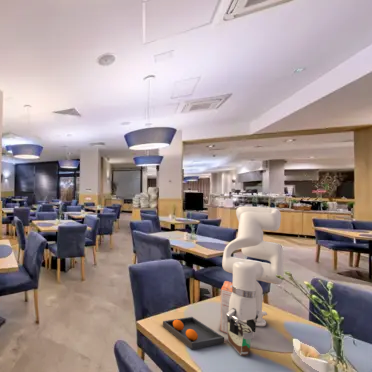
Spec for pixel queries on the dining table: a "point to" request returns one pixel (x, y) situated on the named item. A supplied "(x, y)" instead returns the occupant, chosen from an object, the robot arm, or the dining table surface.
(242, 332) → the food container
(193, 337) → the clementine
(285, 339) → the dining table surface
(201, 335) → the fruit tray
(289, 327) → the dining table surface
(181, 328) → the clementine
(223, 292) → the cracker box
